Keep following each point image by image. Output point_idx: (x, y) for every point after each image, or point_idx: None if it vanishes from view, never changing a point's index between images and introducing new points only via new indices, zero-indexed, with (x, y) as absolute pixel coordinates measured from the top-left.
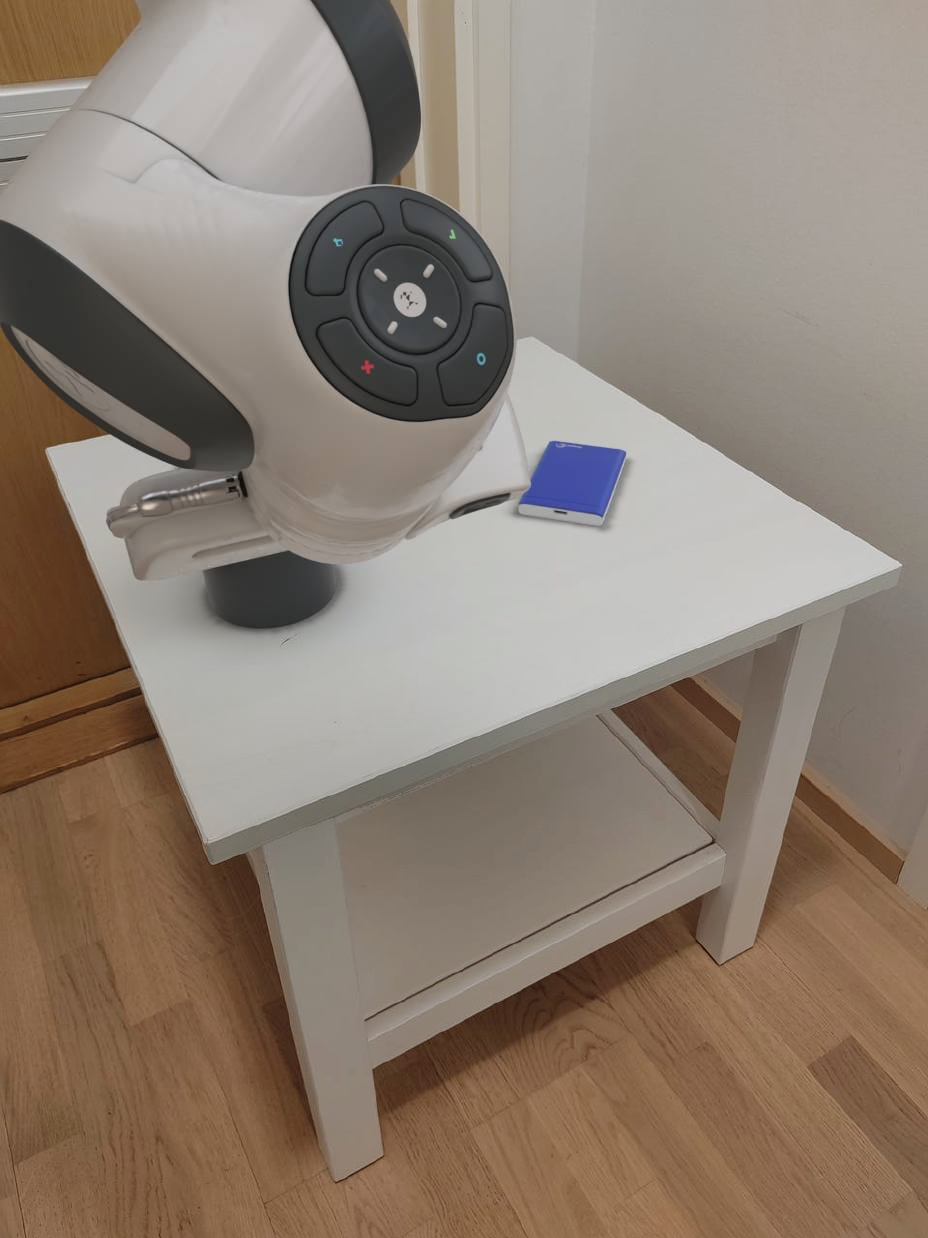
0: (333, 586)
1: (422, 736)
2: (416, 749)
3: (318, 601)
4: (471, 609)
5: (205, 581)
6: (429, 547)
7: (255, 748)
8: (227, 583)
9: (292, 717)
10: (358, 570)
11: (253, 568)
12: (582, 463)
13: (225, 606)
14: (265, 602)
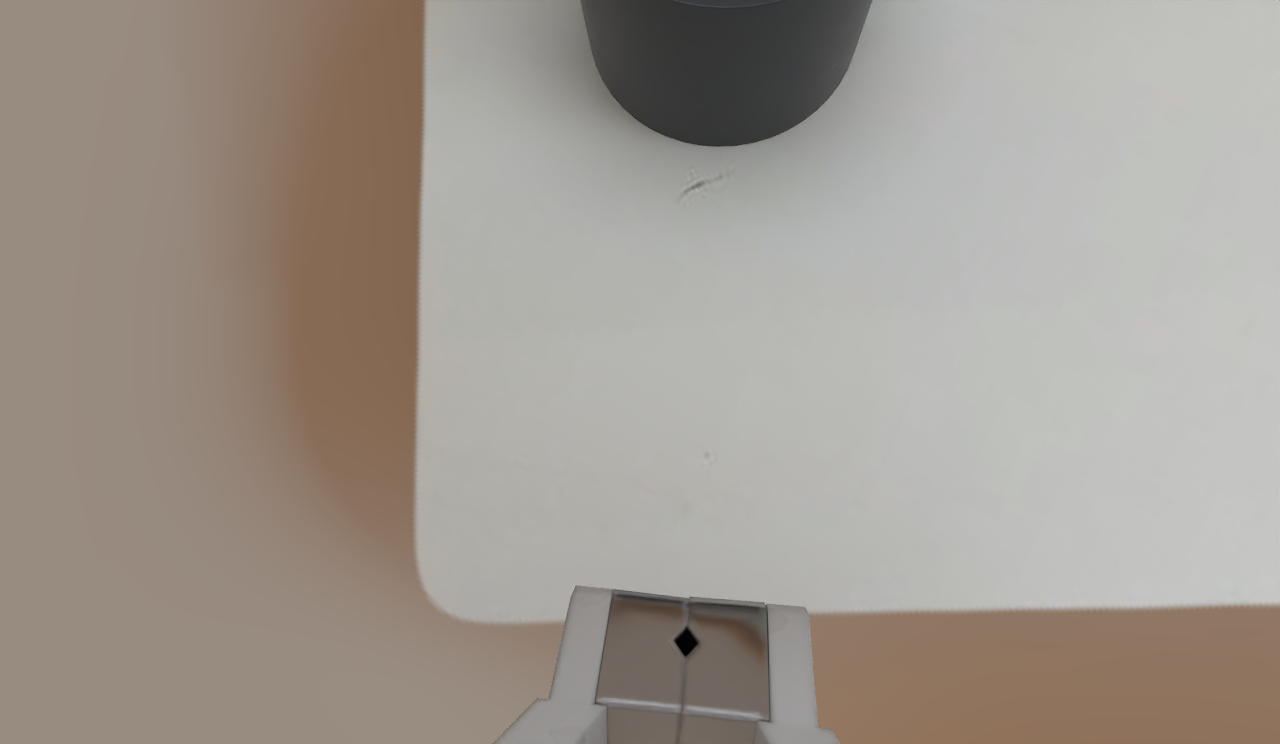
0: (839, 77)
1: (850, 574)
2: (826, 601)
3: (791, 116)
4: (1100, 262)
5: None
6: (1094, 20)
7: (546, 451)
8: (606, 39)
9: (635, 404)
10: (912, 33)
11: (660, 49)
12: None
13: (602, 63)
14: (675, 105)
